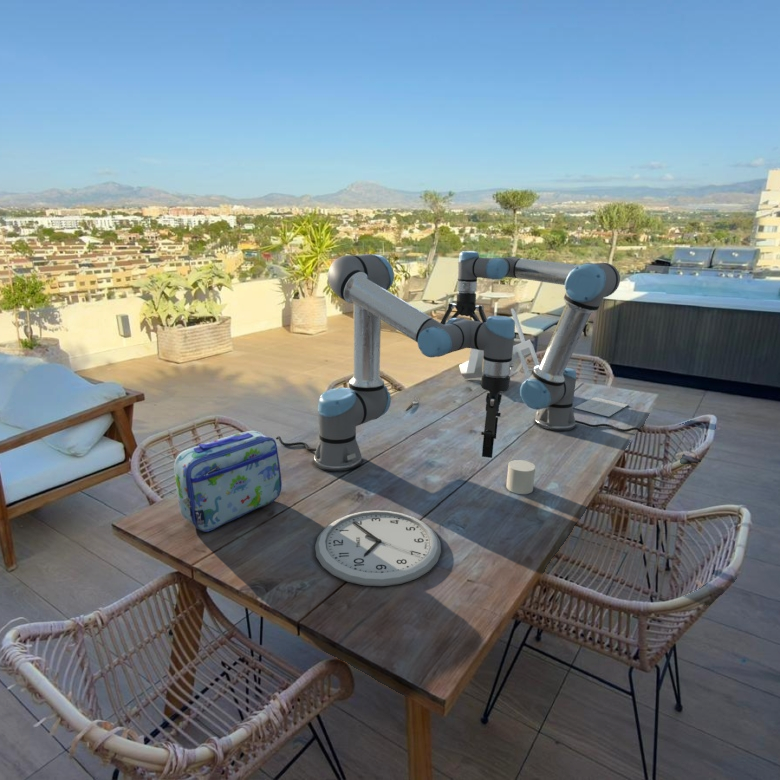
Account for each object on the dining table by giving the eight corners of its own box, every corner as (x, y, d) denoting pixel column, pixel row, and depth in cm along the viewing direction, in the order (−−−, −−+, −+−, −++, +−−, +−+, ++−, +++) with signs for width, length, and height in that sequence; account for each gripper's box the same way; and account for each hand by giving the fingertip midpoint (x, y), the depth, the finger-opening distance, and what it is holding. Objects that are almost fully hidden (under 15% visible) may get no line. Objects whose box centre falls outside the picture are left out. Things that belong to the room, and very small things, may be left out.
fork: (403, 411, 216) (403, 406, 215) (414, 400, 230) (414, 395, 230) (409, 412, 215) (409, 407, 215) (420, 400, 229) (420, 396, 229)
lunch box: (194, 540, 125) (185, 461, 119) (175, 522, 133) (166, 447, 126) (286, 503, 143) (282, 432, 137) (265, 489, 150) (261, 421, 144)
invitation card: (608, 416, 214) (573, 407, 224) (608, 416, 214) (573, 408, 224) (628, 404, 229) (594, 396, 238) (628, 405, 229) (594, 397, 238)
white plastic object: (480, 421, 262) (459, 398, 238) (462, 347, 285) (440, 320, 260) (552, 397, 250) (537, 370, 226) (527, 322, 272) (511, 290, 248)
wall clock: (452, 576, 112) (311, 582, 109) (452, 583, 112) (311, 589, 109) (430, 505, 140) (317, 508, 138) (430, 510, 141) (318, 514, 138)
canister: (522, 480, 159) (525, 458, 157) (538, 491, 152) (540, 469, 150) (501, 484, 156) (503, 461, 154) (516, 496, 150) (518, 473, 147)
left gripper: (507, 389, 128) (499, 467, 135) (512, 364, 151) (505, 432, 158) (476, 386, 130) (470, 463, 136) (486, 362, 153) (480, 429, 159)
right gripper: (433, 290, 207) (431, 343, 214) (495, 295, 197) (490, 350, 203) (440, 289, 214) (438, 340, 220) (500, 293, 203) (496, 346, 210)
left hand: (489, 447), depth 147 cm, fingers open, 13 cm apart
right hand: (463, 345), depth 212 cm, fingers open, 13 cm apart
